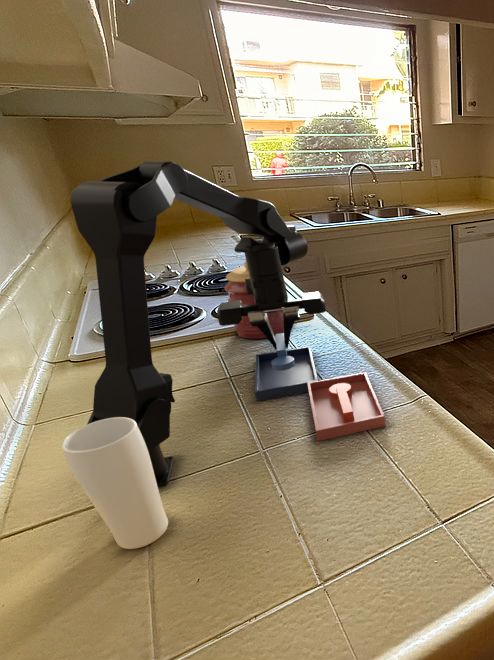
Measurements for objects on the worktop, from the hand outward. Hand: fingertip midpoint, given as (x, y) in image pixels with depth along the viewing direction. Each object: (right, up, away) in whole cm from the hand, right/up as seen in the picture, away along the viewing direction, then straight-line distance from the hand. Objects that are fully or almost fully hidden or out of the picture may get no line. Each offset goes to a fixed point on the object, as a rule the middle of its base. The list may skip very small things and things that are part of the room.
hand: (281, 348), depth 93 cm
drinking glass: (-1, -24, -36) cm, 43 cm away
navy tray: (+1, -6, +1) cm, 6 cm away
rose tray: (+16, -11, -10) cm, 22 cm away
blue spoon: (+1, -2, -1) cm, 2 cm away
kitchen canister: (-14, +5, +23) cm, 27 cm away
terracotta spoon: (+16, -11, -10) cm, 21 cm away
